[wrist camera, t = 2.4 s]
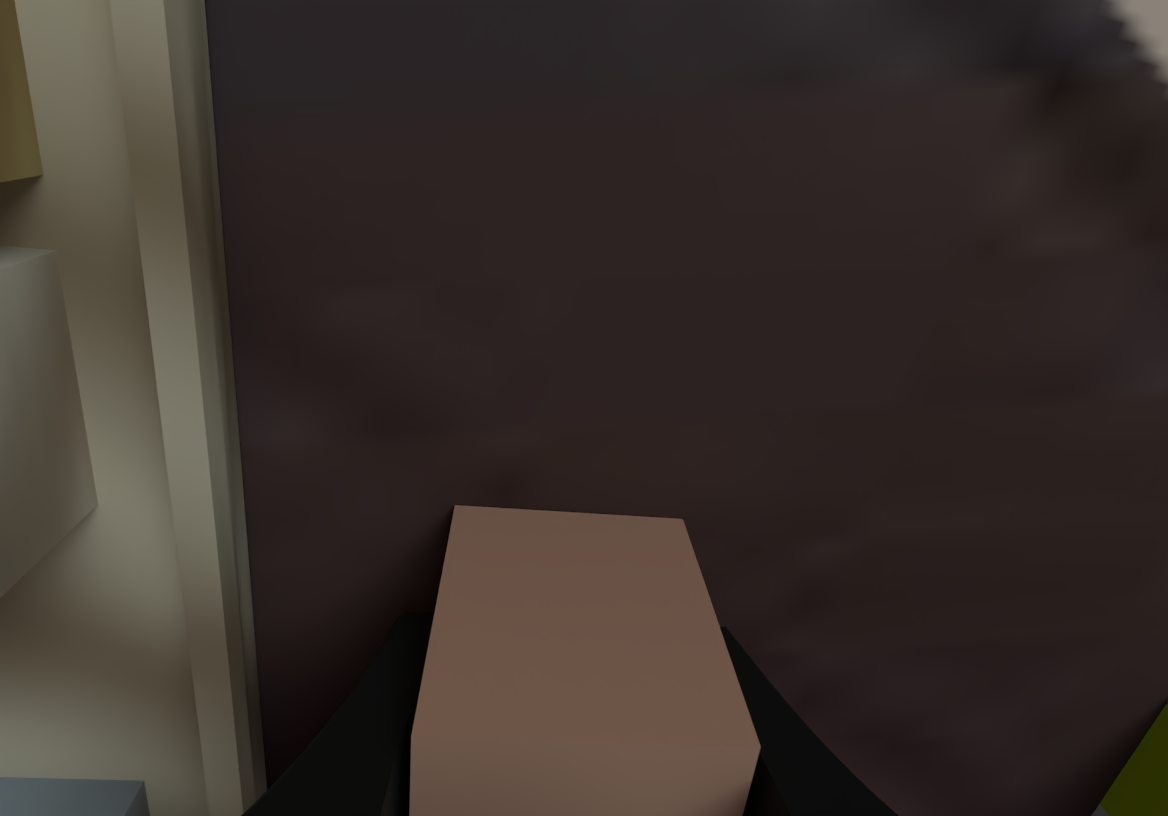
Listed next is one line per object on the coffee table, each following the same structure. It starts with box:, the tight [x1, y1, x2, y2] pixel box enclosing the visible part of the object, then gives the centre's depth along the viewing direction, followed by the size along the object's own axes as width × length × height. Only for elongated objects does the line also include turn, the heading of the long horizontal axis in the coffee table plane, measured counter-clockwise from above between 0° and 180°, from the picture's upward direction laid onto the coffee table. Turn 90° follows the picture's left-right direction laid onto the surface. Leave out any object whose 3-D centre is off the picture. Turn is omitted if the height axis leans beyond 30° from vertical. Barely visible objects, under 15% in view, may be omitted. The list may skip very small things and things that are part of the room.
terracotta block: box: [409, 505, 761, 816], centre depth 12 cm, size 4×4×5 cm
